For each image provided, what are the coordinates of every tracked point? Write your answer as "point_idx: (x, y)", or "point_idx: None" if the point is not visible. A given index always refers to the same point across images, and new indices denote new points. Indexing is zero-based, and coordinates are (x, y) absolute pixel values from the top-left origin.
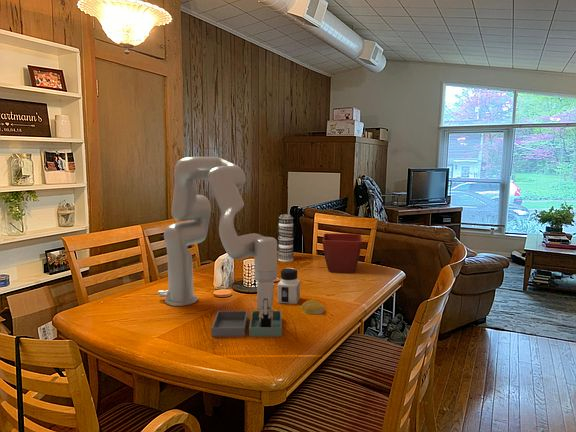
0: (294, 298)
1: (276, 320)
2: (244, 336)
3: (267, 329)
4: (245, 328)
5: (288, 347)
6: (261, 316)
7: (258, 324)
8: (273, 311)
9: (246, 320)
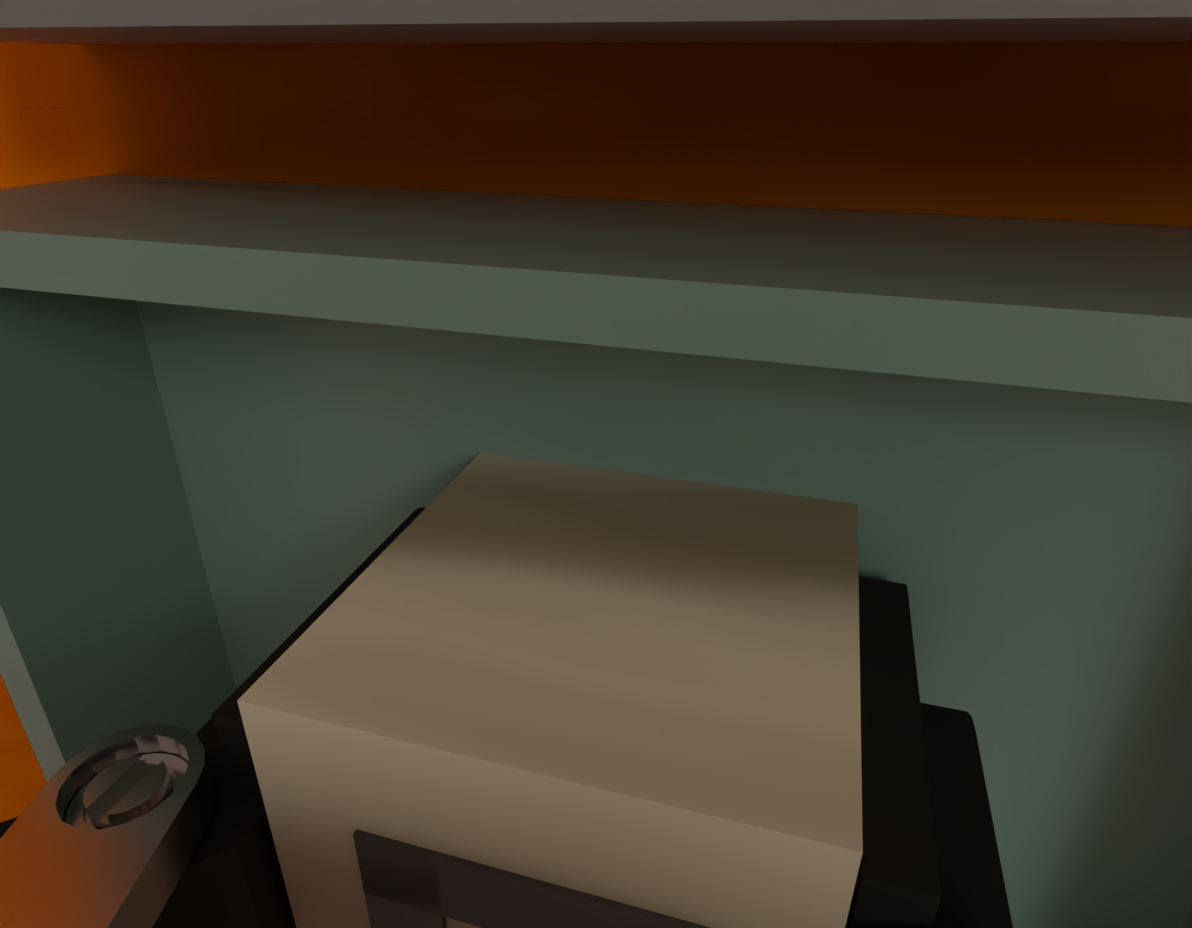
0: None
1: (1060, 919)
2: (45, 42)
3: (50, 672)
4: (371, 38)
5: (22, 754)
6: (294, 784)
7: (858, 469)
8: None
9: (943, 31)
